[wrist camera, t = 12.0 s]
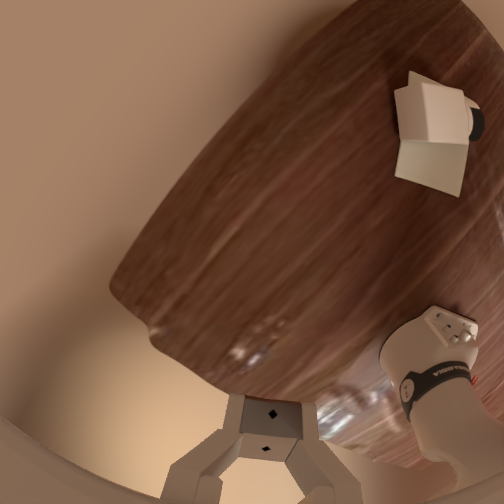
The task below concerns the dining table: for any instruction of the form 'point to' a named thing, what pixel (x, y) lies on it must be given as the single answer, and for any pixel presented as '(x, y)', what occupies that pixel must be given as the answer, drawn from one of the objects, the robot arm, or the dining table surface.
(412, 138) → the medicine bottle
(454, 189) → the mat
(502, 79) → the dining table surface
